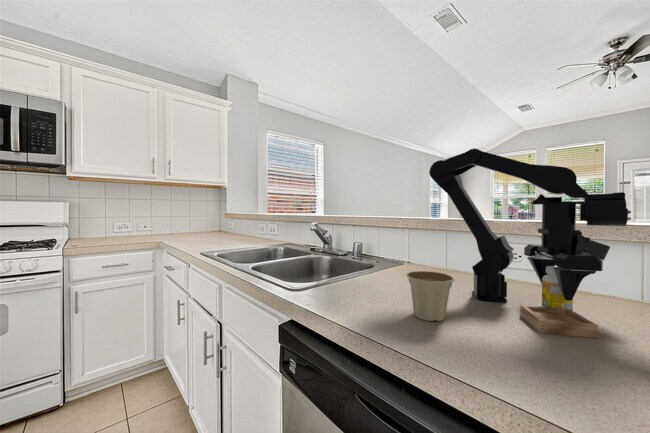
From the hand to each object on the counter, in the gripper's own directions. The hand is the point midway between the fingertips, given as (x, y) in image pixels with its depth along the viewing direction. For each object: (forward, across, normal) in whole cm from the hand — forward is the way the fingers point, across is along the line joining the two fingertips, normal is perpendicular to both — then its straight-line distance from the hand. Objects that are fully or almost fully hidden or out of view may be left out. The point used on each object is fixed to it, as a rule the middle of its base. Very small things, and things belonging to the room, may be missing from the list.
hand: (556, 294), depth 62 cm
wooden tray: (+4, -10, +5) cm, 12 cm away
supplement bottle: (+4, 0, 0) cm, 4 cm away
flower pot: (+4, -11, +28) cm, 30 cm away
